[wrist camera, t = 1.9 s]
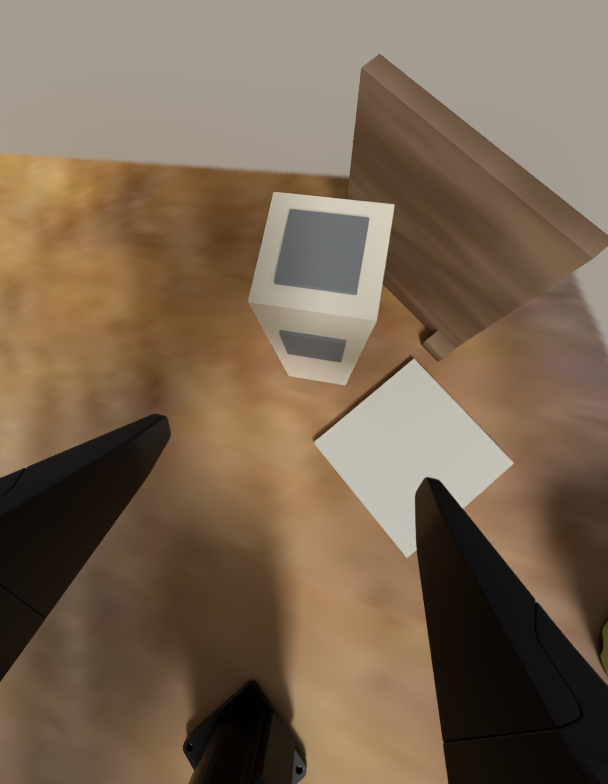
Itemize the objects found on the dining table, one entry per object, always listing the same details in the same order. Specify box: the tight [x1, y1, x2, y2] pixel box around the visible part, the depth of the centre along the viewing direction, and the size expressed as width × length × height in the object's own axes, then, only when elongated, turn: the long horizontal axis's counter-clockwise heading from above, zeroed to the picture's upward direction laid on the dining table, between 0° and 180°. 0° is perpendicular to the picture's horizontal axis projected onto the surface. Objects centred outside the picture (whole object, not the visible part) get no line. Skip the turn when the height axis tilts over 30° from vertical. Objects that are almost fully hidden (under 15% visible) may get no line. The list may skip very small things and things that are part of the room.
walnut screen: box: [347, 54, 608, 361], centre depth 18 cm, size 4×14×12 cm, turn 39°
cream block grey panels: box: [248, 192, 395, 385], centre depth 17 cm, size 5×5×13 cm
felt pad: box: [314, 359, 514, 558], centre depth 21 cm, size 11×11×1 cm
